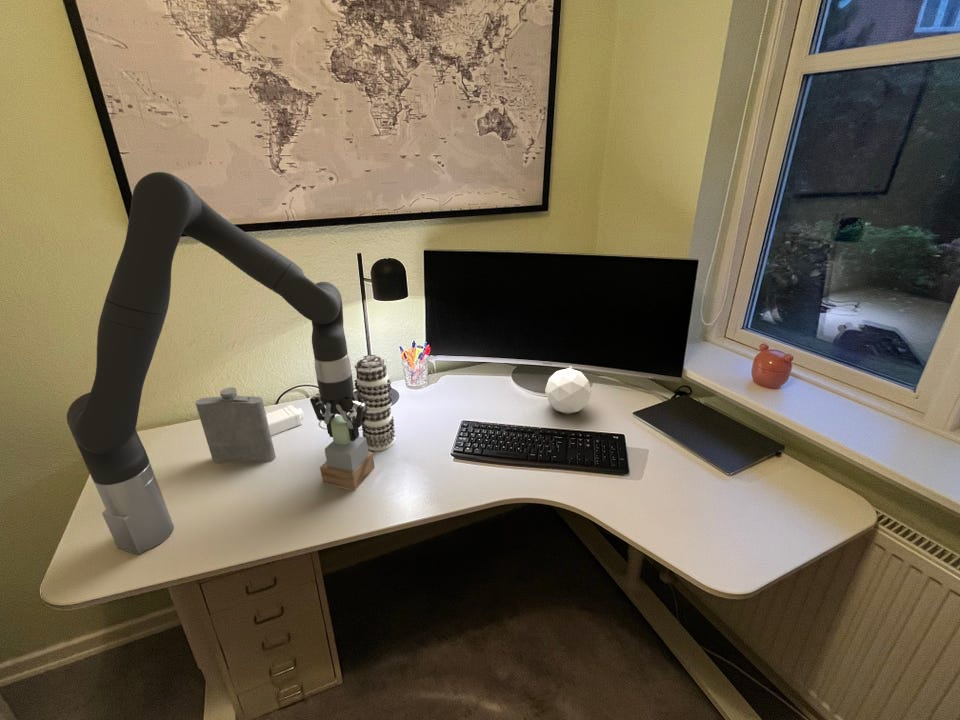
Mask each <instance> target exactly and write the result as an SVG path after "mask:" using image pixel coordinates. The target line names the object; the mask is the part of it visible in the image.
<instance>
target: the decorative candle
mask: <svg viewBox="0 0 960 720" xmlns="http://www.w3.org/2000/svg"><path fill="white" fill-rule="evenodd" d="M387 365H388V362H387V360H385V359H384V358H383V357H381V356H380V355H378V354H377V355H376V354H367V355H364V356H362V357H361V358H359V359H358V361H357V362H356V363H355V364H354V369H355V371H356V377H355V378H356V379H355V380H354V381H353V383H354V382H355V383H354V389H355V390H356V391H355V393H356V398H357V400H356V401H358V402H360V403H362V402H364V401H365V402H367V411H366V419H365V422H364V423H363V424H362V425H361V428H362V429H361V431H362V437H364V438H367V445H368V450H369V451H373V452H374V451H375V452H376V451H377V452H378V451H379V452H380V451H385V450H387V449H389V448H391V447H392V446H393V445H395V443H396V434H395V433H396V432H395V431H396V430H395V427H394V426H395V423H394V421H395V420H394V416H393V414H392V413H393V412H392V410H391V406H392V403H393V399H392V396H393V395H392V393H391V390H392V386H391V384H392V382H391V380H390V379H389V375H388V371H387Z"/></svg>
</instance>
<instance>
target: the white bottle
mask: <svg viewBox="0 0 960 720" xmlns="http://www.w3.org/2000/svg"><path fill="white" fill-rule="evenodd" d="M266 417H267V421H268V426H269V430H270V434H271V437H273V436H274V435H277V434H279V433H282V432H285V431H288V430H290V429H293V428H296V427H299V426H301V425H302V424H303V420H302V419H303V418H304V417H305V415H304V411H303V410H302V408H300V407H297V408H295V407H294V406H293V405H291V404H290V405H287V406H285V407H282V408H280V409H276V410H274V411H271V412H269V413H266Z"/></svg>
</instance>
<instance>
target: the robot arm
mask: <svg viewBox="0 0 960 720" xmlns="http://www.w3.org/2000/svg"><path fill="white" fill-rule="evenodd" d="M128 217H129V218H128V223H127V230H126V235H125V239H124V245H123V248H122V250H121V253H120V256H119V259H118V261H117V264H116V267H115V270H114V272H113V275H112V277H111V282H110V285H109V288H108V290H107V294H106V297H105V300H104V303H103V306H102V310H101V314H100V317H99V322H98V328H97V337H96V338H97V339H96V367H95V376H94V380H93V384H92V387H91V390H90V392H87V393H85V394H82V395H80V396H79V397H77V398H76V399H75V400H74V401H73V402H72V403H71V404H70V406H69V408H68V410H67V413H66V422H67V425H68V428H69V430H70V433H71V434H72V436H73V439H74V441H75V444H76V445H77V448H78V451H79V452H80V454H81V457H82V459H83V461H84V464H85V466H86V469H87V471H88V473H89V475H90V477H91V479H92V482H93V483H94V485H95V488H96V490H97V492H98V495H99V497H100V499H101V502H102V505H103V506H104V508H105V510H103V511H102V513H101V515H102V516H103V519H104V521H105V523H106V525H107V527H108V529H109V532H110V534H111V537H112V539H113V541H114V544H115V545H116V547H117V548H118V549H120V550H123V551H125V552H126V551H127V552H129V553H132V554H135V555H142V553H143V552H146V551H147V550H150V549H153V548H154V547H156V546H158V545H160V544H162V543H163V542H165V540H166V539H168V538H169V537H170V536H171V535H172V533H173V530H174V523H173V520H172V517H171V515H170V512H169V509H168V507H167V504H166V502H165V500H164V496H163V494H162V491H161V489H160V486H159V483H158V481H157V478H156V475H155V472H154V470H153V467H152V464H151V462H150V459H149V456H148V453H147V451H146V449H145V446H144V444H143V442H142V440H141V439H140V437H139V434H138V432H137V424H138V418H139V412H140V404H141V398H142V393H143V388H144V383H145V380H146V377H147V374H148V371H149V369H150V365H151V363H152V361H153V357H154V354H155V352H156V351H155V350H156V348H157V345H158V341H159V338H160V335H161V333H162V330H163V327H164V324H165V320H166V318H167V313H168V310H169V305H170V300H171V288H172V287H171V286H172V284H171V283H172V267H173V261H174V256H175V253H176V250H177V248H178V245H179V243H180V239H181V237H182V234H183V235H185V236H187V237H190V238H192V239H193V240H196V241H198V242H199V243H202V244H203V245H205V246H207V247H209V248H210V249H211V250H213V251H214V252H216V253H218V254H219V255H220V256H222V257H224V258H225V259H226V260H227V261H229V262H230V264H233V265H234V266H235V267H236V268H238V269H239V270H240V271H242V272H243V273H244V274H246V275H247V276H249V277H250V278H252V279H253V280H255V281H256V282H258V283H259V284H261V285H263V286H264V287H265V288H267V289H269V290H271V291H272V292H274V293H275V294H277V295H279V296H280V297H281V298H283V300H284V301H285V302H286V303H287V304H288V305H289V306H291V307H292V308H293V309H294V310H296V312H298V313H299V314H300V315H301V316H303V317H304V318H306V319H308V320H310V321H311V326H312V327H311V328H312V333H311V345H312V346H311V347H312V351H313V356H314V370H315V376H316V377H315V378H316V381H317V382H316V383H317V387H318V393H316V394H315V395H313V396H312V397H311V398H310V399H309V402H310V404H311V406H312V408H313V411H314V413H315V416H316V419H317V420H318V421H320V422H321V421H323V422H324V424H325V425H326V430H327V434H328V435H329V437H330V438H333V436H332V429H331V423H330V422H331V420H332V419H333V418H334V417H336V415H338V416H340V415H341V416H342V418H343V420H344V421H346V422H347V424H348V426H349V435H350V441H353V442H354V441H355V440H356V439H357V438H358V437H360V431H359V429H360V428H361V427H362V424H363V423H364V422H365V419H366V411H367V402H365V401H364V402H362V403H360V402H359V401H357V400H356V397H355V395H354V389H355V385H354V381H353V372H352V367H351V366H352V365H351V361H350V360H351V359H350V357H349V354H348V353H349V352H348V346H347V339H346V334H345V329H344V311H343V309H344V307H343V299H342V298H343V297H342V294H341V292H340V290H339V288H338V287H336V286H335V285H334V284H333V283H330V282H327V281H319V282H316V283H314V282H313V281H312V280H311V279H309V278H308V277H307V276H306V275H305V273H304V271H303V269H302V268H301V267H300V266H299V265H298V264H297V263H295V262H294V261H292V260H291V259H289V258H288V257H287V256H285V255H283V254H282V253H280V252H278V251H277V250H276V249H274V248H272V247H271V246H270V245H268V244H266V243H264V242H263V241H261V240H259V239H258V238H256V237H255V236H252V235H250V234H249V233H247V232H246V231H244V230H242V229H241V228H239V227H238V226H236V225H234V224H233V223H232V222H231V221H229V220H227V219H226V218H225V217H223V216H222V215H221V214H220V213H218V212H217V211H216V210H215V209H214V208H212V207H211V206H210V205H209V204H208V203H207V202H206V201H204V199H203V198H201V197H200V196H199V195H198V194H197V193H196V191H195V190H194V189H193V188H192V187H191V185H190V184H188V183H187V182H185V181H184V180H182V179H181V178H180V177H178V176H176V175H174V174H171V173H169V172H165V171H157V172H156V171H154V172H150V173H148V174H146V175H144V176H142V178H140V179H139V180H138V181H137V183H136V185H135V186H134V189H133V191H132V197H131V203H130V210H129V216H128ZM351 419H352V420H351ZM352 421H353V422H352Z"/></svg>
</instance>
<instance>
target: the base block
mask: <svg viewBox="0 0 960 720" xmlns="http://www.w3.org/2000/svg"><path fill="white" fill-rule="evenodd" d="M368 453H369V455H368V456H367V457H366V459H365V460H364V461H363V462H362V463H361V464H360V465H359V466H358V467H357V469H356V470H355V471H354V472H350V471H346V470H341V469H337V468H333V467H328V465H327V460H326V461H325V462H323V464H322V465H320V466H319V469H320V474H321V480H322V483H323V484H326V485H331V486H333V487H334V486H335V487H339V488H343V489H347V490H351V491H354V492H355V491H357V489H358V488H359V487H361V484H362V483H364V481H365V480H366V479H367V478H368V476H370V474H371V473H372V472H373V471H374V469H375V461H374V451H373V452H371V451H368Z"/></svg>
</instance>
